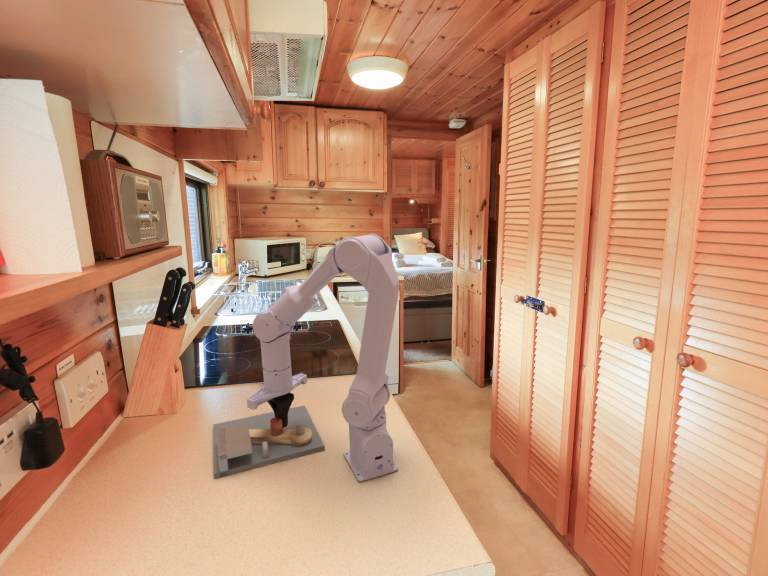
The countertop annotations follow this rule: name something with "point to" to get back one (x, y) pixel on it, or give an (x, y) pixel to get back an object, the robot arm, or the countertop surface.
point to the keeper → (232, 444)
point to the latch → (281, 434)
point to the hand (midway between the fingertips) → (281, 425)
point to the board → (265, 451)
